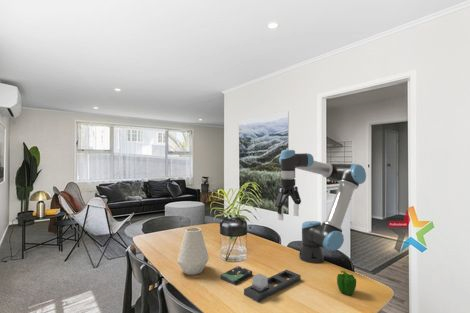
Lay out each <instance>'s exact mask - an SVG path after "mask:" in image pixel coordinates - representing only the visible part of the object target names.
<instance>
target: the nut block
mask: <svg viewBox="0 0 470 313" xmlns="http://www.w3.org/2000/svg"><path fill="white" fill-rule="evenodd" d="M251 277H252V279H251V280H252V281H251V282H252V283H251V284H252V285H251V286H252V289H253V290H254V291H256V292H258V293H262V292H264V291H266V290H268V278H269V277H268V276H266V275H264V274H261V273H257V274H255V275H252V276H251Z"/></svg>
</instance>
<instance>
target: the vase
mask: <svg viewBox="0 0 470 313" xmlns="http://www.w3.org/2000/svg"><path fill="white" fill-rule="evenodd" d="M184 230H185V231H184V234H183V237H182V240H181V244H180V248H179V252H178V255H177V260H176V261H177V264H178V265H179V267H180V269H181V270H182V272H183V274H185V275H189V276H190V275H191V276H192V275H193V276H194V275H198V274H201V273H203V271H204V269H205V267H206V265H207V264H208V261H209V253H208V250H207V247H206V243H205V239H204V235H203V232H202V228H200V227H188V228H186V229H184Z"/></svg>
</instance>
